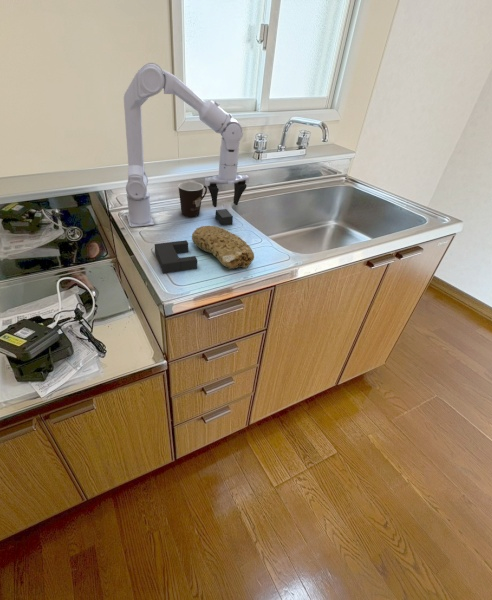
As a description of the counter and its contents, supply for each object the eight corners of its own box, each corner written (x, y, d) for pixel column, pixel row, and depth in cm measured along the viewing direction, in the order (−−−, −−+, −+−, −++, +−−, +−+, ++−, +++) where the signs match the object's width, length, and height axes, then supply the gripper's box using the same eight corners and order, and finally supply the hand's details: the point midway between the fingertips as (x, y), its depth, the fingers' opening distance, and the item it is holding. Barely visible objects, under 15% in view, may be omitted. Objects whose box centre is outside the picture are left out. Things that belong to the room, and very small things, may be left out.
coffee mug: (182, 220, 110) (182, 191, 104) (175, 210, 116) (175, 182, 110) (213, 216, 114) (215, 188, 107) (205, 207, 120) (206, 180, 113)
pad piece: (215, 217, 113) (215, 209, 111) (225, 216, 114) (226, 208, 112) (221, 225, 108) (222, 217, 106) (232, 224, 109) (233, 216, 107)
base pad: (155, 252, 92) (154, 243, 90) (186, 249, 95) (186, 240, 93) (163, 273, 84) (162, 264, 82) (197, 268, 87) (197, 259, 85)
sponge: (256, 269, 90) (226, 226, 101) (259, 250, 84) (226, 206, 95) (214, 285, 88) (188, 239, 98) (213, 266, 81) (185, 219, 92)
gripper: (210, 168, 94) (208, 211, 102) (255, 165, 98) (249, 207, 106) (203, 161, 99) (202, 203, 108) (245, 159, 103) (241, 199, 112)
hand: (225, 205), depth 107 cm, fingers open, 7 cm apart
